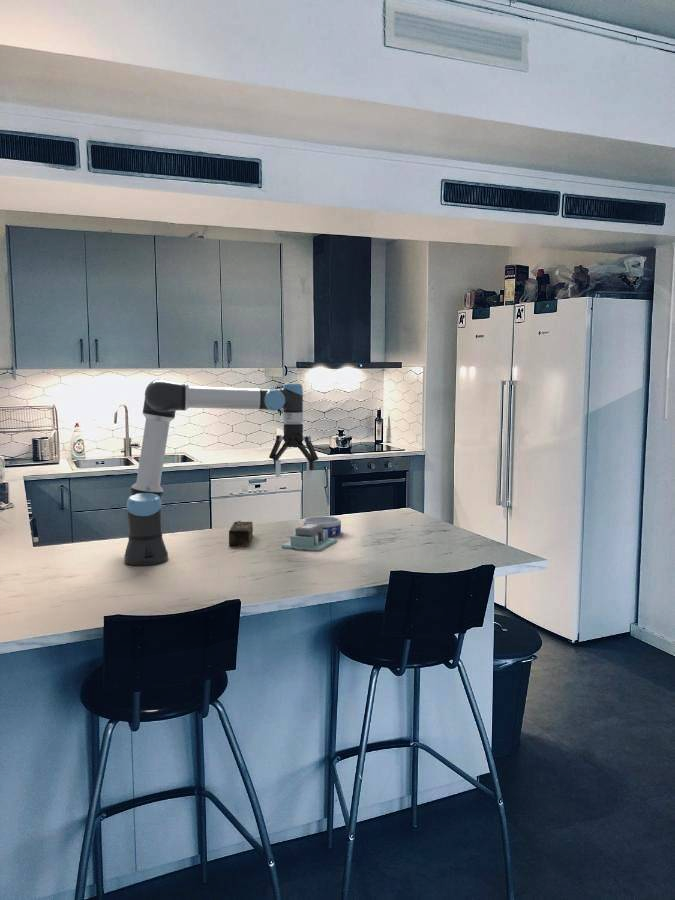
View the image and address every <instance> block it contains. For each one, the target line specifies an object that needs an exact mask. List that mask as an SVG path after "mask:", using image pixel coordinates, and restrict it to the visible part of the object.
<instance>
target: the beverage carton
mask: <svg viewBox="0 0 675 900" xmlns="http://www.w3.org/2000/svg"><path fill="white" fill-rule="evenodd" d="M253 525H254V524H253V521H241V520H238V521H237V520H236V521H234V522H233V524H232V525H231V527H230V529H229V531H228V546H229V547H248V546H249V545H250V543H251V541H252V536H253V532H254V530H253V528H254V527H253ZM239 545H240V546H239ZM241 545H242V546H241ZM243 545H244V546H243ZM247 545H248V546H247Z"/></svg>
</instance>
